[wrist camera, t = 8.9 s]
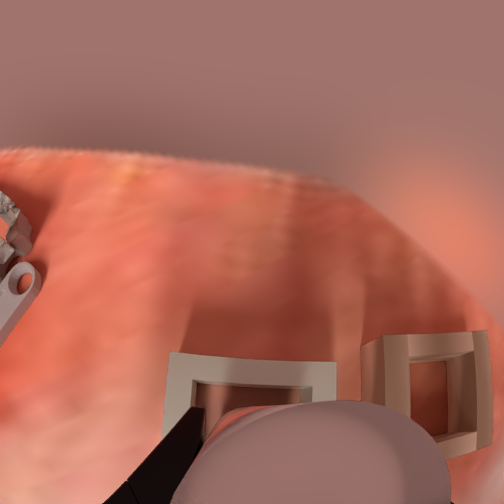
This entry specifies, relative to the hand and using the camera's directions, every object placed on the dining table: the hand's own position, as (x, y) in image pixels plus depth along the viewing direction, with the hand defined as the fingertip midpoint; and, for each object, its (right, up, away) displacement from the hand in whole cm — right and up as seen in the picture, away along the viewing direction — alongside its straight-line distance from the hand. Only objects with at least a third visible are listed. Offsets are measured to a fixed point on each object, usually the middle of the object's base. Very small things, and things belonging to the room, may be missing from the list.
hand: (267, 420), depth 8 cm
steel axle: (-1, -4, +5) cm, 7 cm away
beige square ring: (+10, -4, +8) cm, 13 cm away
